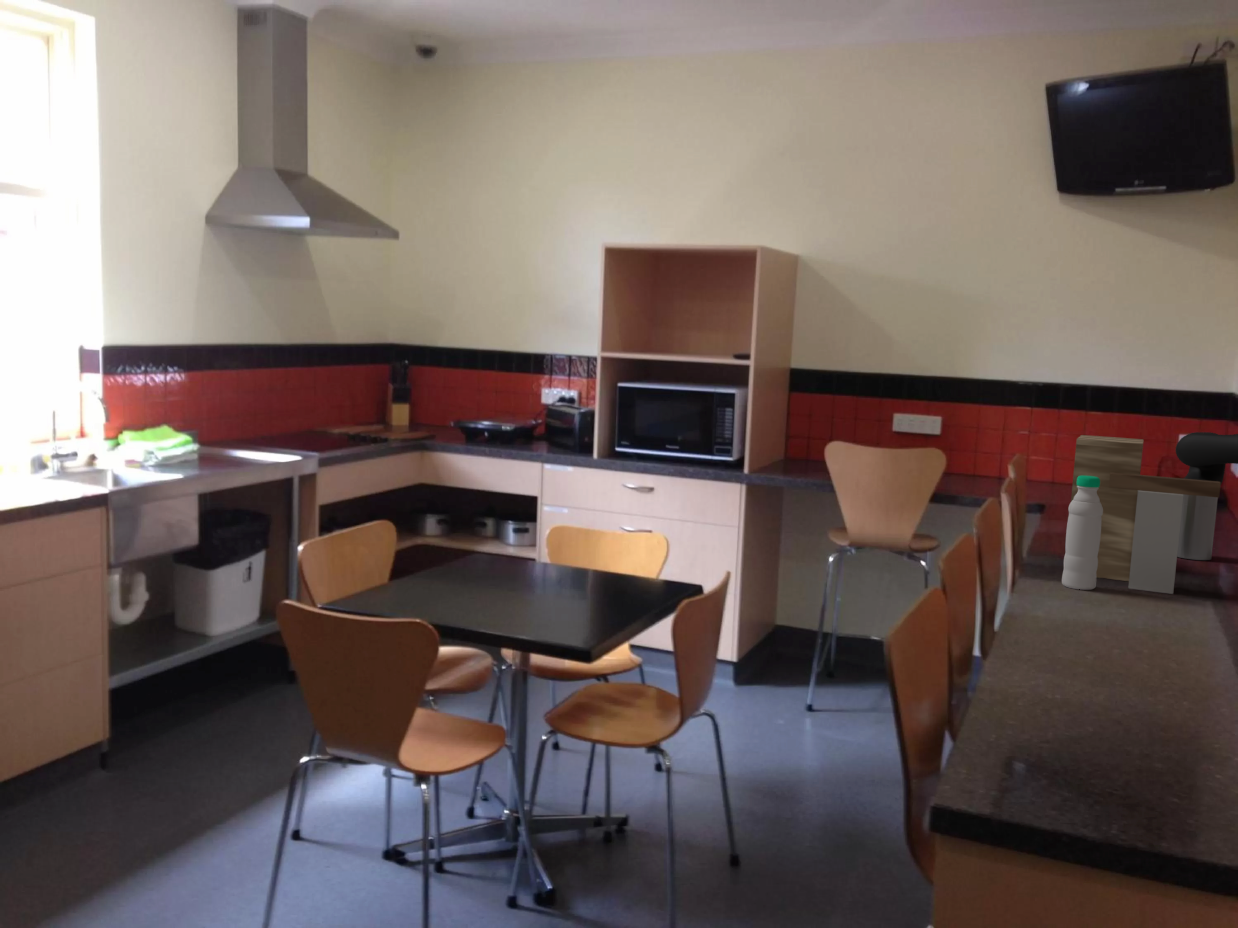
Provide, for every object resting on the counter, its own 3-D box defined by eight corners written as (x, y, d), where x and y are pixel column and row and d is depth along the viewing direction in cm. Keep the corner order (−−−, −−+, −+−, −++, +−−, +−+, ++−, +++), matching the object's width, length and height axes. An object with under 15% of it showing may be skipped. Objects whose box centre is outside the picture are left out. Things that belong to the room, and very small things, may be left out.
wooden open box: (1069, 561, 273) (1081, 435, 269) (1130, 568, 267) (1143, 439, 263) (1064, 573, 257) (1076, 439, 253) (1129, 581, 251) (1142, 444, 247)
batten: (1109, 486, 248) (1110, 472, 247) (1218, 496, 238) (1219, 481, 238) (1108, 487, 245) (1110, 473, 244) (1219, 497, 235) (1220, 483, 235)
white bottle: (1094, 585, 244) (1104, 475, 241) (1096, 592, 237) (1107, 479, 234) (1060, 582, 246) (1070, 473, 243) (1062, 588, 239) (1072, 476, 237)
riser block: (1129, 581, 250) (1138, 487, 247) (1172, 587, 246) (1182, 491, 243) (1128, 588, 242) (1137, 491, 240) (1173, 593, 239) (1183, 495, 236)
